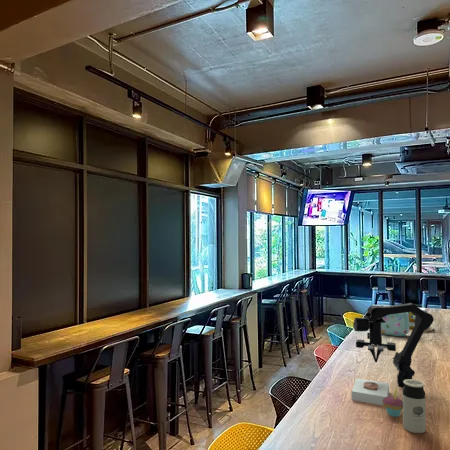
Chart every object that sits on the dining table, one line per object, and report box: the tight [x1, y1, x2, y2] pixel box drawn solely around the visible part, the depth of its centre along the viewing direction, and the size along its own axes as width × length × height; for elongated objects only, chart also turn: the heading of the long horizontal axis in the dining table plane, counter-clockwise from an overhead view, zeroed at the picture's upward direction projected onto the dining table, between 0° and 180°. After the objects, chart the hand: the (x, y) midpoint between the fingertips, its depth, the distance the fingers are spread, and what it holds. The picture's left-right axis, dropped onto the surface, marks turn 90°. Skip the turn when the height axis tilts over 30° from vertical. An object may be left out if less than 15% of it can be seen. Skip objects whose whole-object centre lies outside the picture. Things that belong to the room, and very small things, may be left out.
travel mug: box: [402, 378, 427, 434], centre depth 153 cm, size 8×8×18 cm
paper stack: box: [408, 307, 435, 333], centre depth 317 cm, size 25×25×17 cm
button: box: [364, 382, 378, 390], centre depth 185 cm, size 6×6×4 cm
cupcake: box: [382, 387, 403, 418], centre depth 166 cm, size 9×8×12 cm
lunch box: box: [380, 304, 410, 337], centre depth 298 cm, size 27×10×21 cm, turn 55°
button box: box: [350, 377, 390, 407], centre depth 185 cm, size 15×18×4 cm
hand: (376, 362), depth 198 cm, fingers closed
